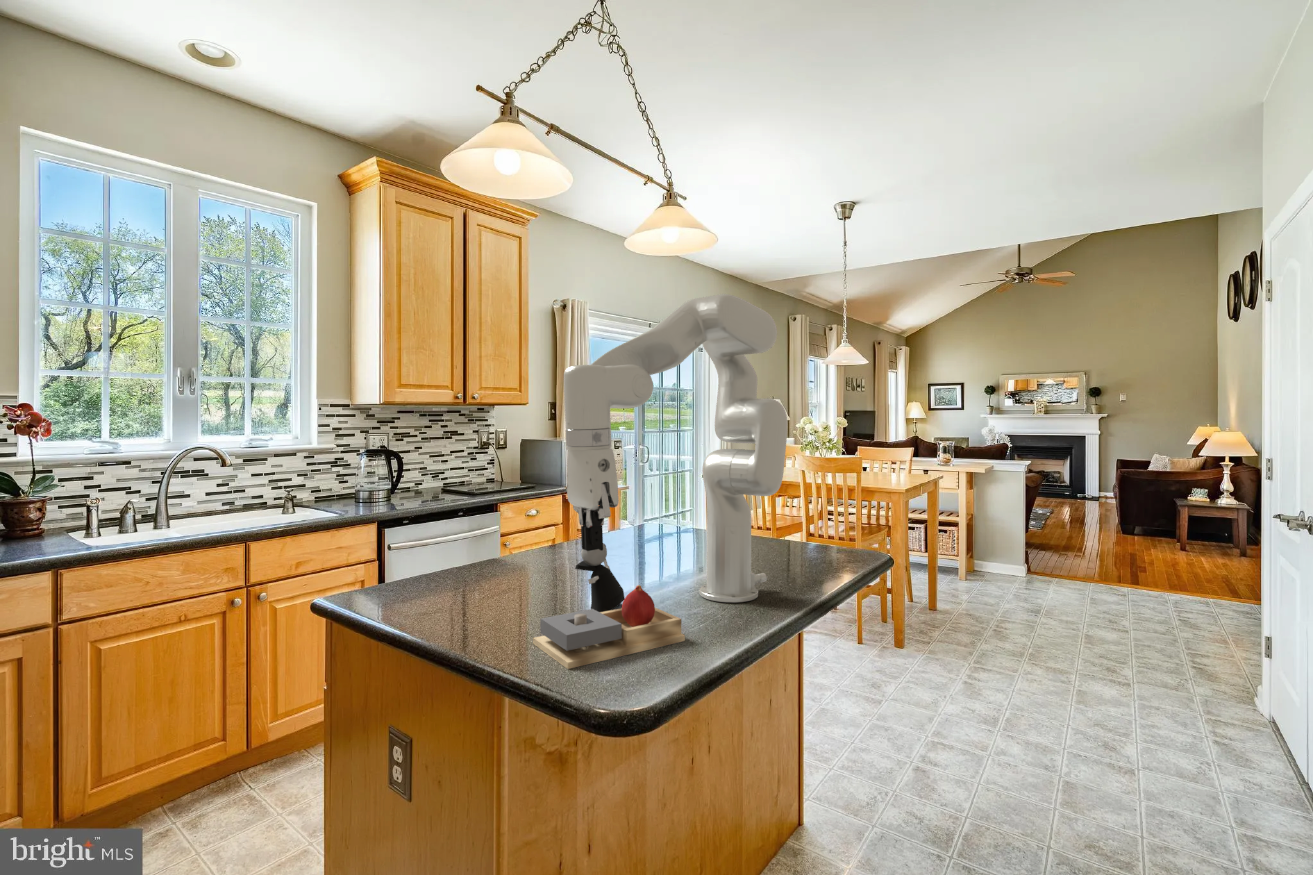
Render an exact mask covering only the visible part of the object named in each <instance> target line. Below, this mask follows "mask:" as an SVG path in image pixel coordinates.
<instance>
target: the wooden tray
mask: <svg viewBox="0 0 1313 875" xmlns="http://www.w3.org/2000/svg"><path fill="white" fill-rule="evenodd" d="M600 613H602V614H604V615H606V616H608V617H609V618H611V619H613V620H615V621H617V622H619V623H621V624H622V639H617V640H613V641H608V642H604V643H599V644H595V645H590V646H586V647H581V648H577V649H572V650H568V651H566V650H565V649H563V648H562V647H560V646H559V645H558V644H556V643H555V642H553V641H552V640H550V639H549V638H547V637H546V636H544V635H541V636H536V637H532V642H533V643H532V644H533V645H534V646H535V647H536V648H538V649H539V650H541V651H543V652H544V653H545V654H547V655H548V656H549V658H550V657H551V659H553V660H555V661H556V662H557V663H559V664H560V665H562V667H564V668H565V669H567V670H570V669H574V668H577V667H582V666H586V665H591V664H594V663H598V662H603V661H608V660H611V659H616V658H620V657H624V656H628V655H632V654H636V653H640V652H644V651H648V650H653V649H658V648H662V647H665V646H669V645H670V646H671V645H674V644H678V643H682V642H686V641H685V640H686V635H685V634H683V633H682V618H681V617H679V616H676V615H673V614H671V613H668V612H666V611H664V610H662V609H659V608H657V607H655V613H654V617H653V619H652V620H651V621H650V622H649V623H648V624H645V625H640V626H636V627H632V626H630V625H629V624H628V623H627V622H626V621H625V620H624V618H623V616H622V607H621V608H614V609H612V610H610V611H605V612H600ZM582 624H587V615H586V614H576V615H574V625H575V626H577V625H582Z"/></svg>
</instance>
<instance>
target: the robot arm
mask: <svg viewBox="0 0 1313 875" xmlns="http://www.w3.org/2000/svg"><path fill="white" fill-rule="evenodd" d="M777 336H778V329H777V325H776V322H775V320H774V318H773V317H772V315H771V314H770V313H769V312H767V311H766V310H764V309H763V308H760V307H758V306H756V305H755V304H753V303H751V302H749V301H747V300H745V299H744V298H741V297H739V296H736V295H733V294H729V293H720V294H716V295H709V296H703V297H695V298H692V299H690V300H687V301H685V302H684V303H682V304H680V305H679V306H678V307H677V308H676V309H675V310H673V311H672V312H670V313H669V315H667V316H666V317H664V319H662V320H661V321H659V322H658V323H657V324H656V325H655V326H654V327H652V328H650V329H649V330H648V331H645V332H643V333H640V334H639V335H637V336H635V337H633V338H631V339H629V340H628V341H626V342H624V343H621V344H619V345H618V346H615V347H613V348H612V349H610V350H608V351H607V352H605V353H604V354H602V355H601V356H599V357H598V358H597V359H595V360H594V361H593V362H592V363H591V364H577V365H571V366H568V367H567V368H566V369H565V370H564V372H563V396H564V397H563V398H564V400H563V401H564V423H565V424H564V425H565V428H564V429H565V447H566V450H567V460H566V461H567V462H566V495H567V496H566V497H567V501H568V502H569V503H570V505H572V508H573V511H575V512H576V513H577V515H578V523H579V525H580V535H581V538H580V539H581V541H580V542H581V550H582V549H584V550H586V551H591V550H597V549H602V548H603V543H604V538H603V537H604V536H603V534H604V533H603V526H604V525H605V519H607V518H610V517H611V514H612V513H611V509H610V508H613V509H614V508H617V507H618V505H619V504H620V502H619V500H620V499H619V484H618V483H619V482H618V474H617V466H616V460H615V459H616V458H615V454H614V450H613V446H612V428H611V427H612V426H611V424H612V422H611V409H634V408H638V407H640V406H643V405H645V403H647V402H648V401H649V400H650V398H651V396H652V394H653V392H654V382H653V378H652V377H651V376H652V375H656V374H660V373H663V372H667V371H669V370H671V369H672V370H673V369H674V368H676V367H678V366H680V365H681V364H682V363H683V362H684V361H685V360H686V359H687V358H688V357H689V356H691V354H692V353H693V352H695V351H696V350H697V349H698V348H699V347H700V346H701V345H702V347H703V348H704V350H705V352H706V353H707V355H708V356H709V358H710V359H711V361H712V363H713V365H714V367H715V369H716V373H717V379H718V383H717V396H716V404H715V415H714V431H715V435H716V437H717V438H718V439H719V440H721V441H722V442H725V443H733V444H734V443H735V444H755V445H754V448H755V449H744V448H719V449H715V450H714V451H712V452H710V453H709V454H708V455H707V456H706V457H705V459H704V460H703V464H702V470H701V471H702V478H703V479H702V480H703V485H704V489H705V496H706V498H705V499H706V520H707V521H706V584H704V585H701V587H700V588H699V591H698V592H699V595H700V596H701V597H702V598H704V599H706V600H709V601H714V602H719V603H744V602H746V603H747V602H751V601H753V600H756V599H757V598H758V597H759V590H758V589H757V588H756V587H755V586H756V585H757V583H764V582H766V581H767V580H768V576H767V574H766V573H764V572H762V573H756V574H755V572H752V511H751V507H750V505H749V503H748V501H747V499H746V497H745V495H746V496H757V497H771V496H774V494H776V493H777V492H778V491H779V489H780V488H781V486H782V482H783V479H784V474H785V473H784V472H785V462H786V452H787V450H786V449H787V440H788V428H789V427H788V426H789V425H788V416H787V413H786V410H785V407H784V405H782V403H781V402H779V401H778V400H776V399H773V398H757V396H758V395H757V394H758V376H757V372H756V370H755V367H754V366H753V365H752V364H751V362H750V360H749V359H748V357H746V355H757V354H762V353H766V352H769V350H771V349H772V348H773V347H774V346H775V343H776V341H777V339H778V338H777Z"/></svg>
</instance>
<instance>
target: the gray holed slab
mask: <svg viewBox="0 0 1313 875" xmlns="http://www.w3.org/2000/svg"><path fill="white" fill-rule="evenodd" d="M576 614H586V615H587V624H582V625H577V626H575V625H574V615H576ZM539 629H540V631H539V632H540V634H541V635H542V636H546V637H547V638H549V639H550V640H552V641H553V642H555V643H556V644H558V645H559V646H560V647H562V648H563V649H565V650H566V651H568V650H572V649H577V648H581V647H586V646H590V645H595V644H599V643H604V642H608V641H613V640H617V639H622V624H621V623H619V622H617V621H615V620H613V619H611V618H609V617H608V616H606V615H604V614H602V613H600V612H598V611H596V610H594V609H591V608H590V609H584V610H579V611H574V612H567V613H563V614H558V615H553V616H547V617H542V618H540V628H539Z"/></svg>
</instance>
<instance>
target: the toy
mask: <svg viewBox="0 0 1313 875" xmlns="http://www.w3.org/2000/svg"><path fill="white" fill-rule="evenodd" d="M580 554H581V558H582V561H580V562H579V563H576V564H575V570H580V571H587V572H592V573H591V575H590V578H588V579H587V581H588V584H589V585H590V598H591V599H590V601H591V604H590V609H594V610H596V611H598V612H605V611H610V610H614V609H617V607H619V606H620V605H621V604H623V601H624V599H625V592H624V589H623V587H622V585H621V584H620V583H619V581H618V580H617V578H616V576H615V575H614V574H613V572H612V570H611V568H610V565H609V564H608V561H607V554H608V549H607V545H606V544H605V543H604V542H603V548H602V549H597V550H591V551H586V550H584V549H582V548H581V551H580Z"/></svg>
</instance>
